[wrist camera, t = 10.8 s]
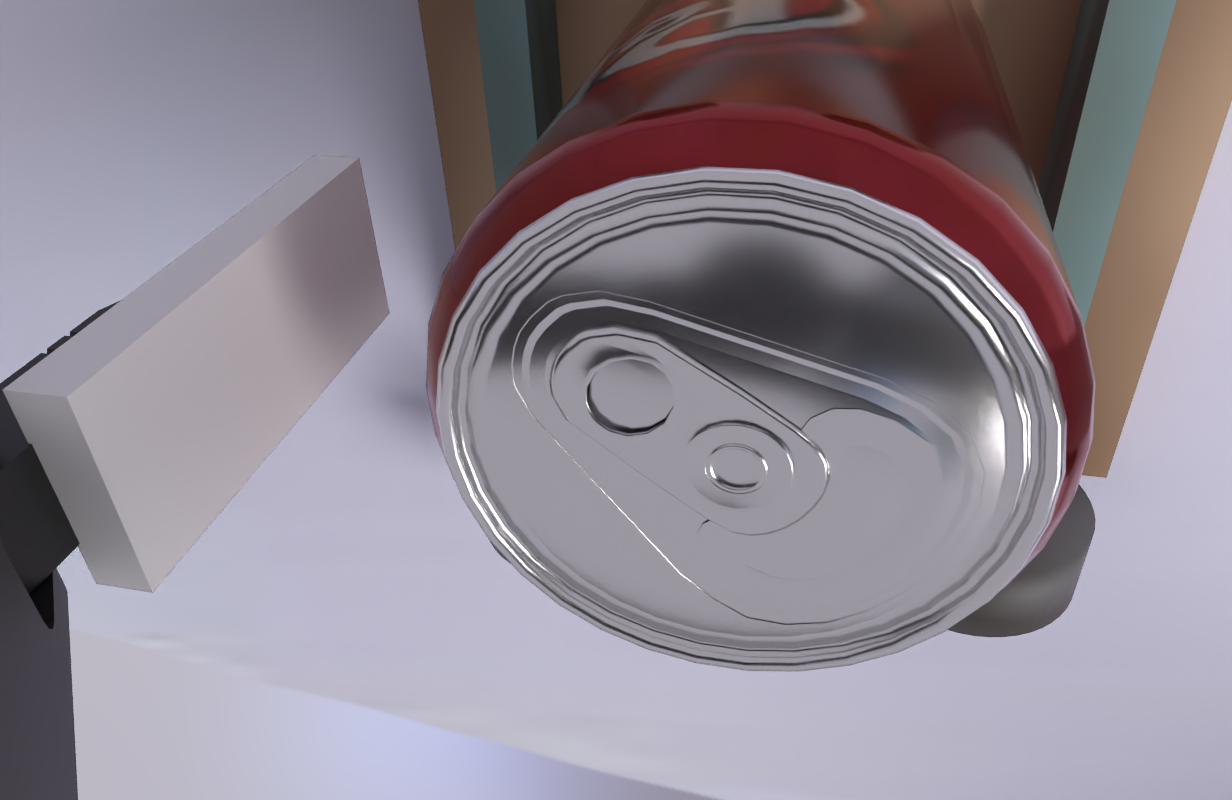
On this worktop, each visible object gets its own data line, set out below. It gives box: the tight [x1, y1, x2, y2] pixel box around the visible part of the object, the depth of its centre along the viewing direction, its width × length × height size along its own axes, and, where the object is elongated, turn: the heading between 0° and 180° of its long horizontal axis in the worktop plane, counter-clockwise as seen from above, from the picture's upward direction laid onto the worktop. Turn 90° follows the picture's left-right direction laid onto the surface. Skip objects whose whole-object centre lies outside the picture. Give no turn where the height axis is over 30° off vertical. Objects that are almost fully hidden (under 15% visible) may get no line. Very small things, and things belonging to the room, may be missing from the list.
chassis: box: [418, 0, 1232, 637], centre depth 19 cm, size 16×22×5 cm
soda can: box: [426, 0, 1096, 671], centre depth 15 cm, size 7×7×12 cm
